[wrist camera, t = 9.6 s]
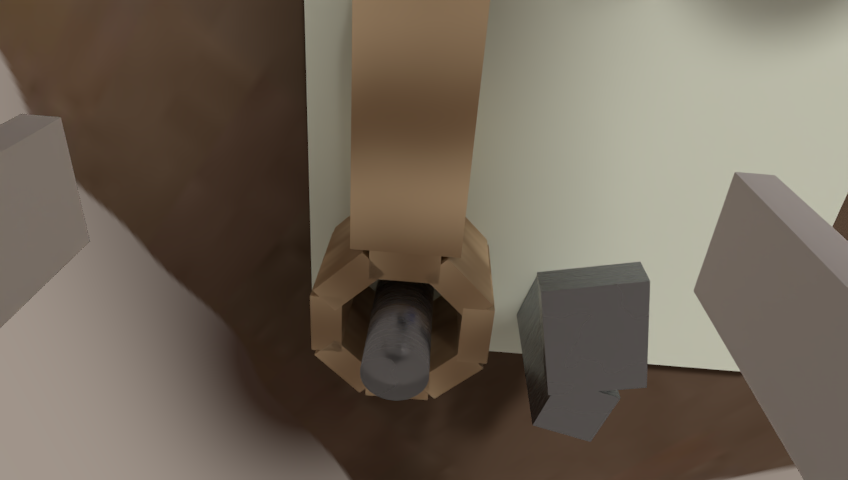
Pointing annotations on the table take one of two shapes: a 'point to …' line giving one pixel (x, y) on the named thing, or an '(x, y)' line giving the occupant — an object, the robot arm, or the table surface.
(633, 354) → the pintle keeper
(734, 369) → the board
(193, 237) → the table surface
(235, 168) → the table surface
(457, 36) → the link
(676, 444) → the table surface
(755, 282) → the robot arm
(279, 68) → the table surface
